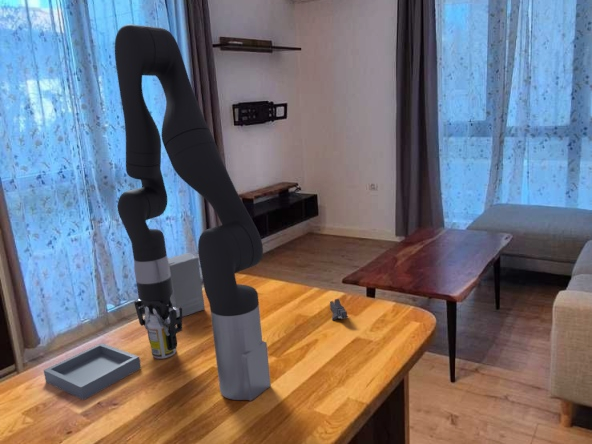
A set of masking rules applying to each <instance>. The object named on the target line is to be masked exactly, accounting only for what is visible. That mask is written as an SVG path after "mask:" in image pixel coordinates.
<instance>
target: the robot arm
mask: <svg viewBox="0 0 592 444" xmlns="http://www.w3.org/2000/svg"><path fill="white" fill-rule="evenodd" d="M114 59H115V67H116V75H117V80H118V81H117V82H118V87H119V95H120V101H121V107H122V113H123V118H124V119H123V120H124V129H125V130H124V131H125V170H126V171H125V172H126V174H127V175H128V176H129V178H131V179H136V180H140V181H141V182H140V183H141V187H137V188H134V189H130V190H126V191H124V192H123V193H121V194H120V196H119V197H118V201H117V212H118V216H119V218H120V221H121V222H122V224H123V226H124V229H125V232H126V233H127V235H128V238H129V241H130V243H131V249H132V250H131V251H132V255H133V262H134V263H133V264H134V266H133V269H134V275H135V277H134V278H135V283H136V289H137V296H138V299H137V300H136V301H134V302H133V303H134V308H135V312H136V314H137V318H138V322H139V325H140V326H144V328H145V330H147V337H148V341H149V342H148V343H150V339H149V332H148V326H147V325H148V322H149V321H150V314H154V315H155V316H156V317H157V320H158V322H159V325H160V326H161V327H163V329H164V331H165V334H166V342H167V349H168V350H170V351H171V350H173V349H175V348H176V349H177V347H178V339H177V334H179V332H180V333H181V331H183V317H182V308H181V307H178V308H175V307H173V306H172V303H171V300H170V297H171V295H172V293H173V289H172V281H171V274H170V267H169V262H168V258H169V257H168V256H167V247H166V246H167V245H166V240H165V235H164V233H163V232H162V230H160V229H158V228H150V227H149V226H148V224H147V221H148V220H151V219H154V218H158V217H160V216H162V215H163V214H164V212H166V209H167V206H168V193H167V189H166V186H165V182H164V178H163V173H162V170H161V167H162V166H161V165H162V164H161V162H162V161H161V160H162V144H163V146H164V149H165V152H166V154H167V157H168V159H169V162H170V164H171V166H172V168H173V170H174V171H175V173H176V174H177V175H178V177H179V178H181V179H182V181H183V182H185V183H186V184H187V185H188V186H190V187H191V188H192V189H193V190H194V191H195V192H197V194H199V195H200V196H202V197H203V198H204V199H205V200H206V201H207V202H208V203H209V204H210V206H211V207H212V209H213V211H214V212H215V214H216V215H217V217H218V219H219V221H220V225H216V226H213V227H211V228H208V229H207V228H206V230H204V231H202V233H201V234H200V236H199V237H198V238H199V239H198V244H197V245H198V246H197V248H198V249H197V250H198V261H199V267H200V272H201V276H202V282H203V283H202V284H203V287H204V288H203V289H204V292H205V296H206V298H207V300H208V304H209V309H210V317H211V326H212V335H213V343H214V344H213V345H214V351H215V358H216V367H217V369H216V370H217V375H218V376H217V377H218V382H219V392H220V394H221V395H222V396H223V397H225V398H227V399H228V400H232V401H243V400H248V401H253V400H254V399H255V398H257V397H258V396H260V395H261V394H262V393H263V392H264V391H266V390H267V389H268V388H270V387H271V385H272V384H271V375H270V366H269V365H270V363H269V354H268V353H269V352H268V344H267V342H266V341H263V335H262V324H261V314H260V304H259V303H260V302H259V301H260V300H259V294H258V291H257V289H256V288H254V287H253V286H250V285H246V284H239V283H237V279H236V273H239V272H242V271H244V270H247V269H250V268H252V267H254V266H256V265H258V264H260V262H261V260H262V259H263V254H264V246H263V241H262V238H261V235H260V232H259V231H258V228H257V226H256V224H255V223H254V220H253V219H252V216H251V215H250V214H249V211H248V210H247V208H246V206H245V204H244V203H243V201H242V199H241V197H240V195H239V193H238V191H237V190H236V189H237V188H236V187H235V186H234V183H233V181H232V178H231V177H230V174H229V172H228V170H227V168H226V166H225V164H224V161H223V160H222V156H221V153H220V151H219V148H218V146H217V144H216V142H215V139H214V137H213V134H212V132H211V130H210V128H209V125H208V123H207V122H206V120H205V117H204V115H203V112H202V109H201V108H200V105H199V102H198V100H197V98H196V95H195V92H194V89H193V87H192V84H191V81H190V79H189V75H188V71H187V68H186V65H185V62H184V59H183V55H182V52H181V49H180V47H179V44H178V42H177V41H176V38H175V37H174V36H173V33H172V32H170V30H168V29H166V28H163V27H159V26H150V25H139V24H125V25H123V26H121V27H119V29H118V31H117V33H116V36H115V41H114ZM143 76H150V77H151V76H152V77H156V78H157V79H158V81H159V83H160V84H161V88H162V90H163V94H164V96H165V100H166V101H165V102H166V103H165V110H164V114H163V115H164V116H163V121H162V128H161V135H160V130H159V129H158V126H157V124H156V122H155V119H154V118H153V116H152V115H151V113H150V111H149V108H148V106H147V103H146V101H145V98H144V93H143V87H142V86H143ZM168 317H169V320H168V321H166V322H164V321H163V320H165V319H167V318H168ZM168 324H170V329H169V328H168Z"/></svg>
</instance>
